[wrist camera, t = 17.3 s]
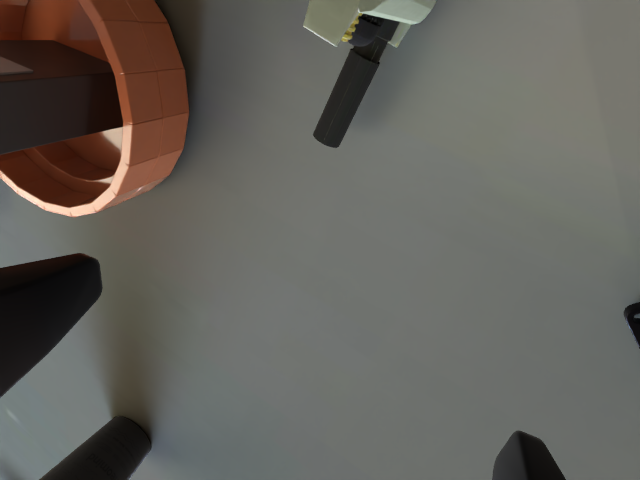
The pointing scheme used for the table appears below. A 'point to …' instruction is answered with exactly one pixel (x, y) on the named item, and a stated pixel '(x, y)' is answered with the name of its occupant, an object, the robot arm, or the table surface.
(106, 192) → the bowl
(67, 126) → the remote
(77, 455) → the drinking cup
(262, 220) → the table surface
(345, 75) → the handheld radio
